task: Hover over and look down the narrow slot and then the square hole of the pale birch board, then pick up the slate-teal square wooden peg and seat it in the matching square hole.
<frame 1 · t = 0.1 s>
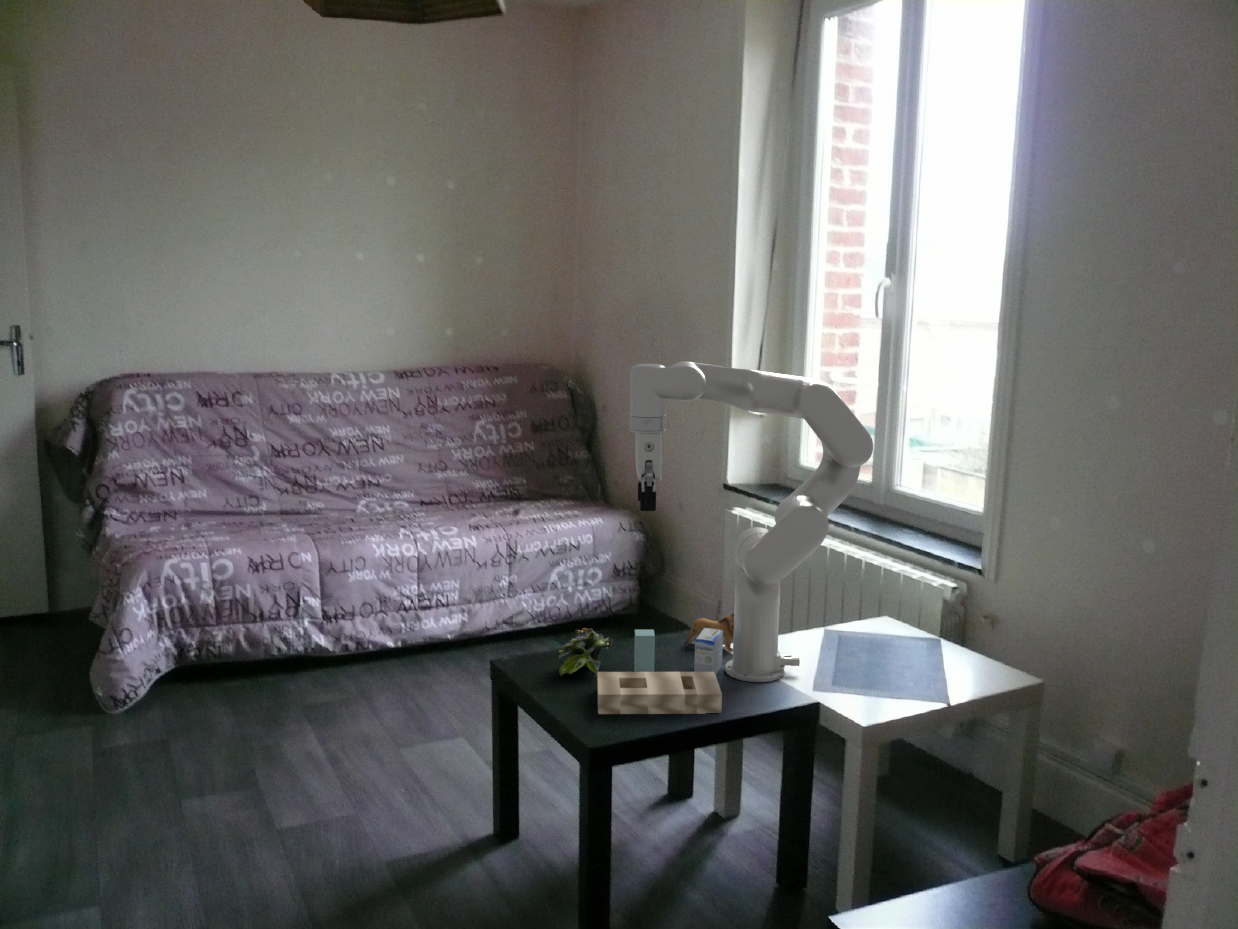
hand: (646, 505, 224), 37 cm above the table, tool pointing down, fingers open, 9 cm apart
square peg: (644, 677, 227), on the table
bore board: (657, 701, 214), on the table
medicine box: (708, 673, 231), on the table
lion figurine: (716, 648, 247), on the table
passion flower: (587, 673, 230), on the table
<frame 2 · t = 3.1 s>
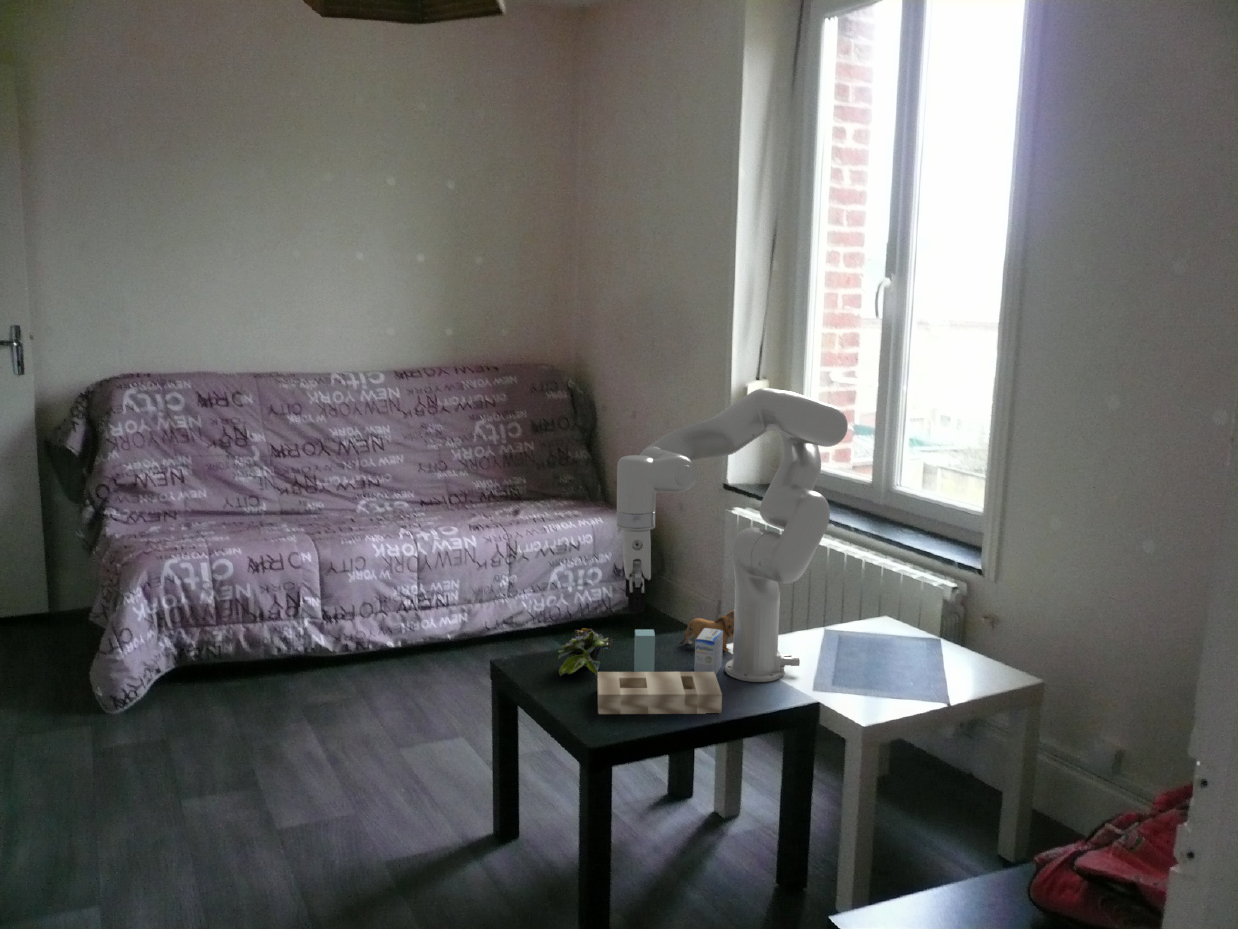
hand: (635, 604, 211), 20 cm above the table, tool pointing down, fingers open, 9 cm apart
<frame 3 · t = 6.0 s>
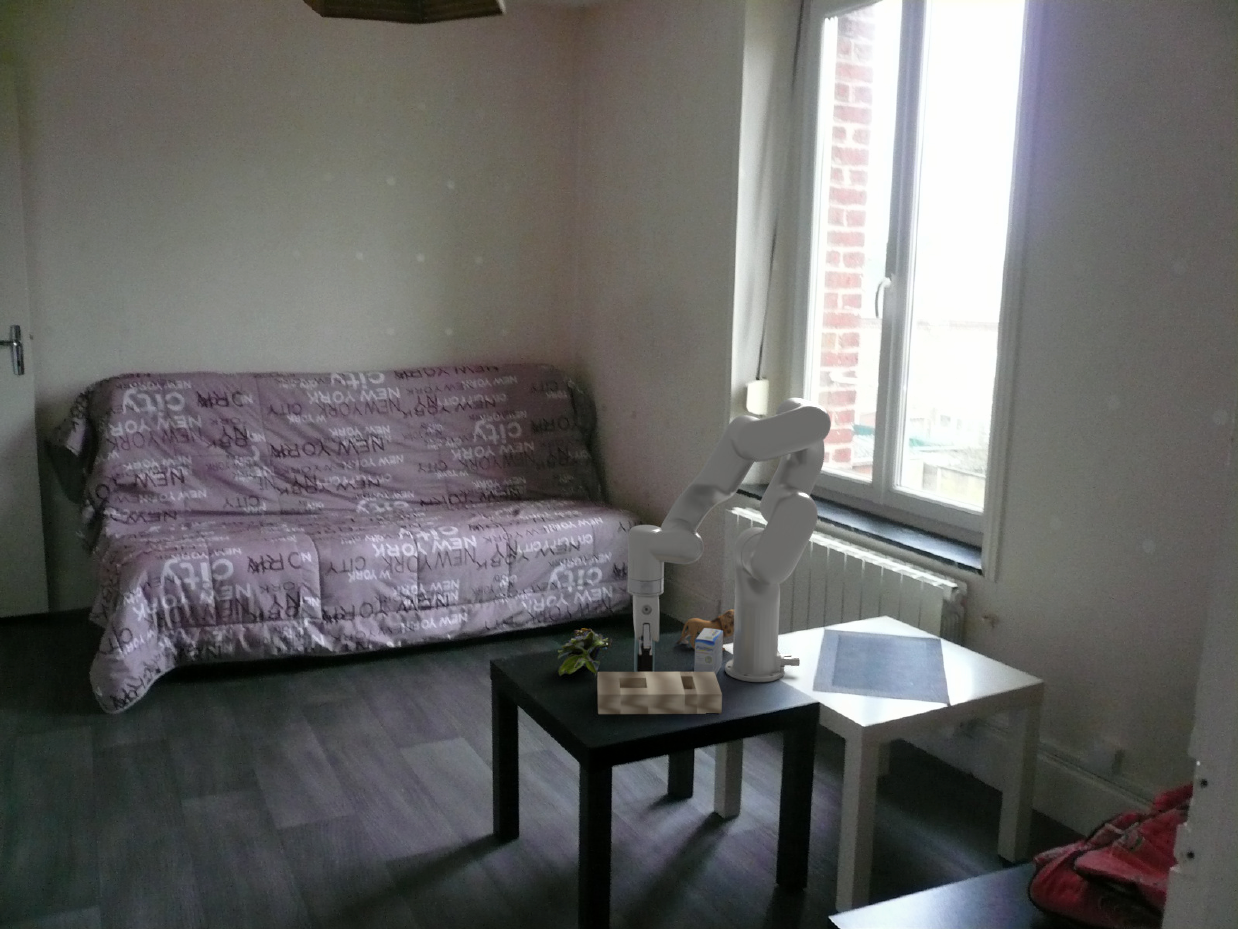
hand: (644, 667, 227), 2 cm above the table, tool pointing down, fingers closed on square peg, 4 cm apart
square peg: (644, 677, 227), on the table, touching gripper
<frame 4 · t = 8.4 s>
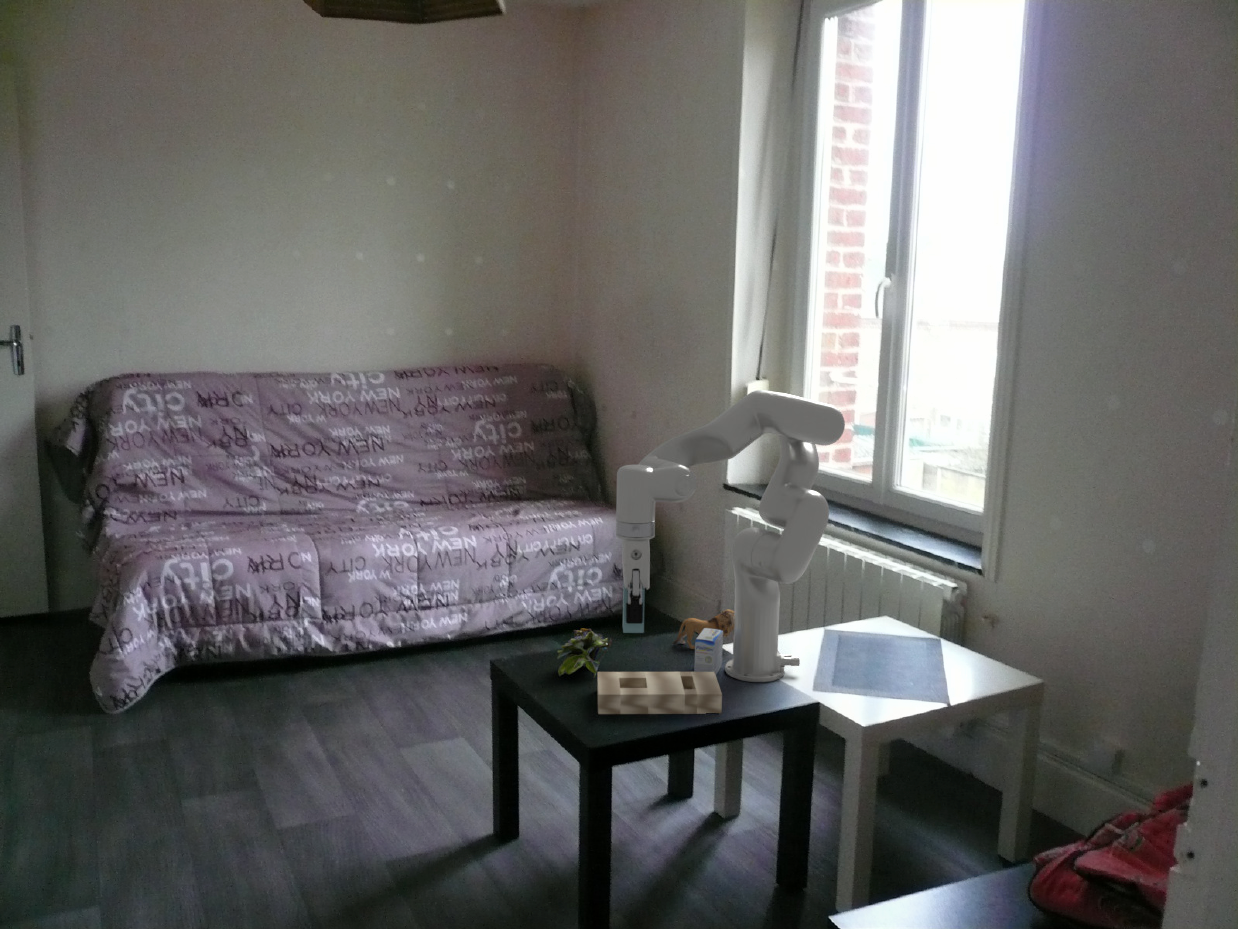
hand: (633, 618, 211), 17 cm above the table, tool pointing down, fingers closed on square peg, 4 cm apart
square peg: (633, 629, 212), point 15 cm above the table, touching gripper
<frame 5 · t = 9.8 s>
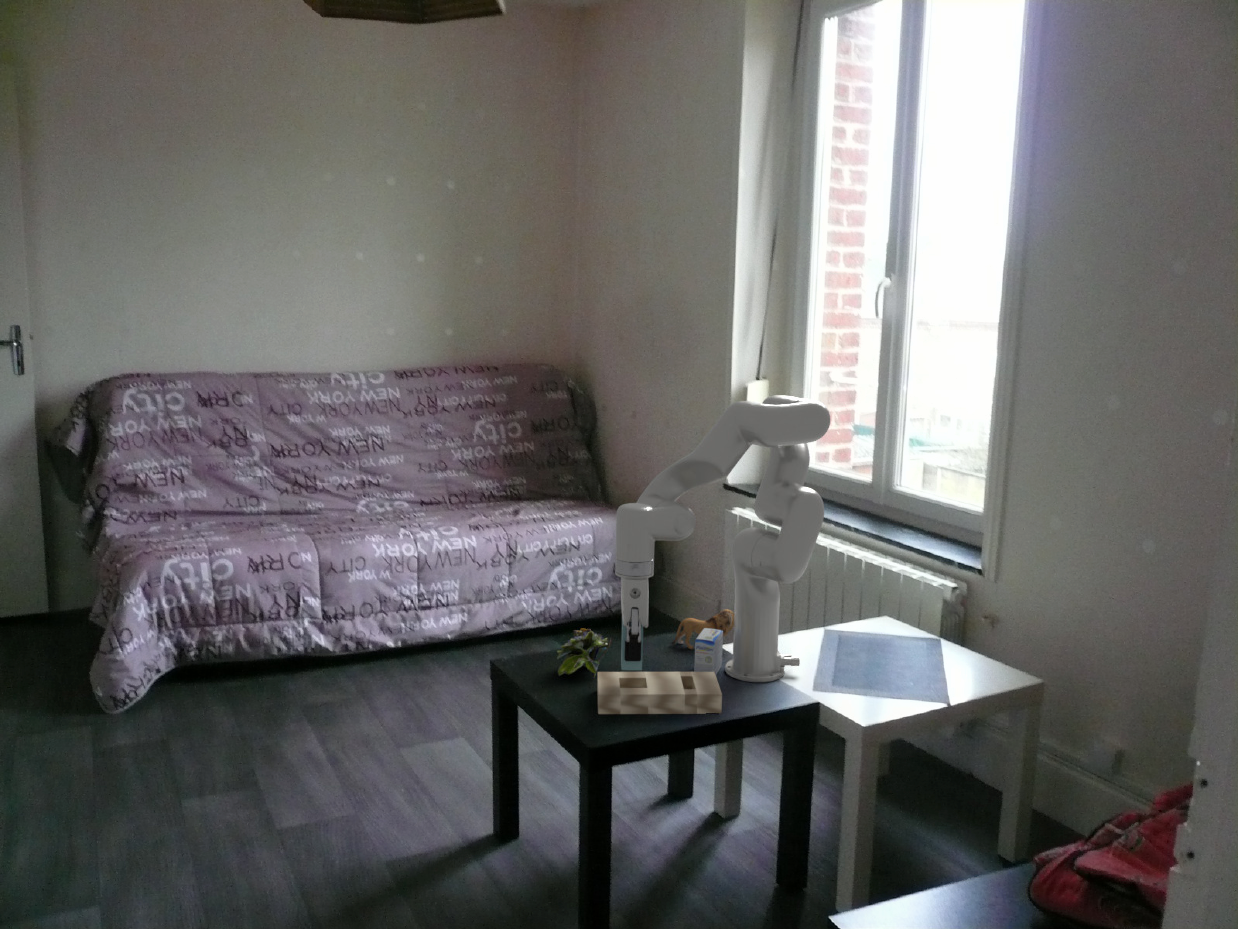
hand: (632, 655, 212), 10 cm above the table, tool pointing down, fingers closed on square peg, 4 cm apart
square peg: (631, 666, 213), point 7 cm above the table, touching gripper
when the fingers open (5 cm above the table, at t = 11.0 s): square peg drops 2 cm, resting in bore board.
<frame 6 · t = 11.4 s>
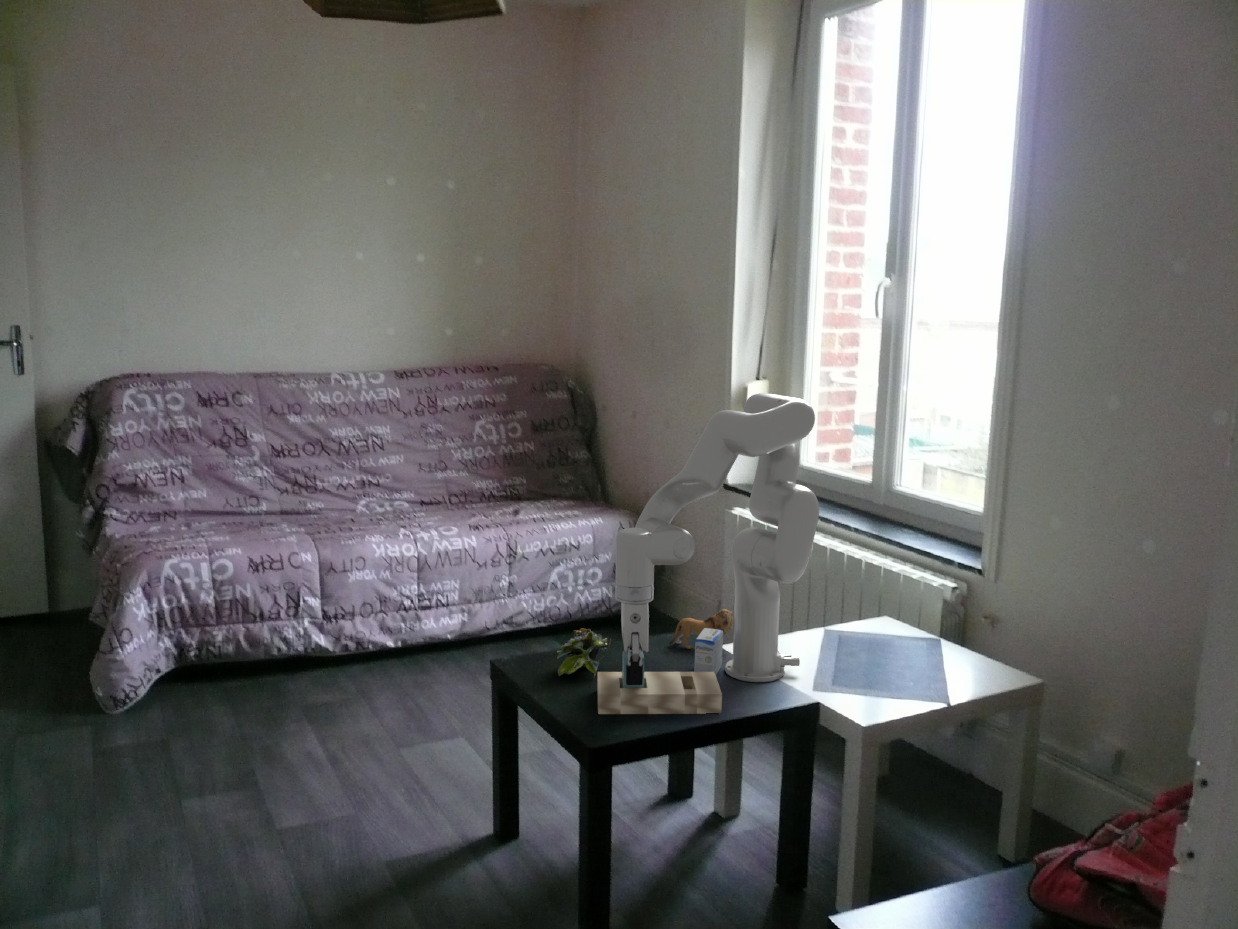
hand: (633, 676, 213), 5 cm above the table, tool pointing down, fingers open, 7 cm apart
square peg: (632, 702, 214), resting in bore board
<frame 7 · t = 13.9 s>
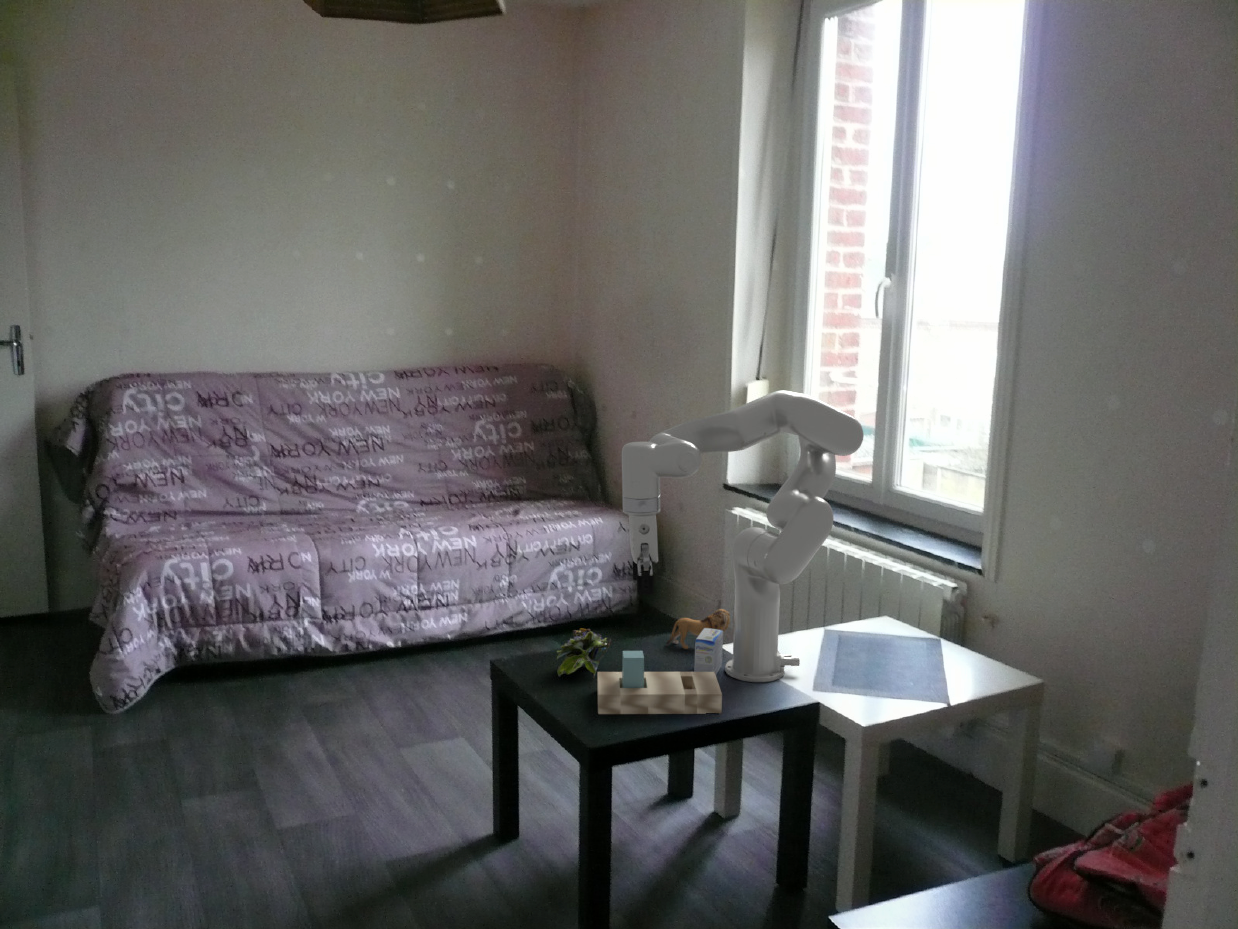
hand: (643, 586, 216), 22 cm above the table, tool pointing down, fingers open, 9 cm apart
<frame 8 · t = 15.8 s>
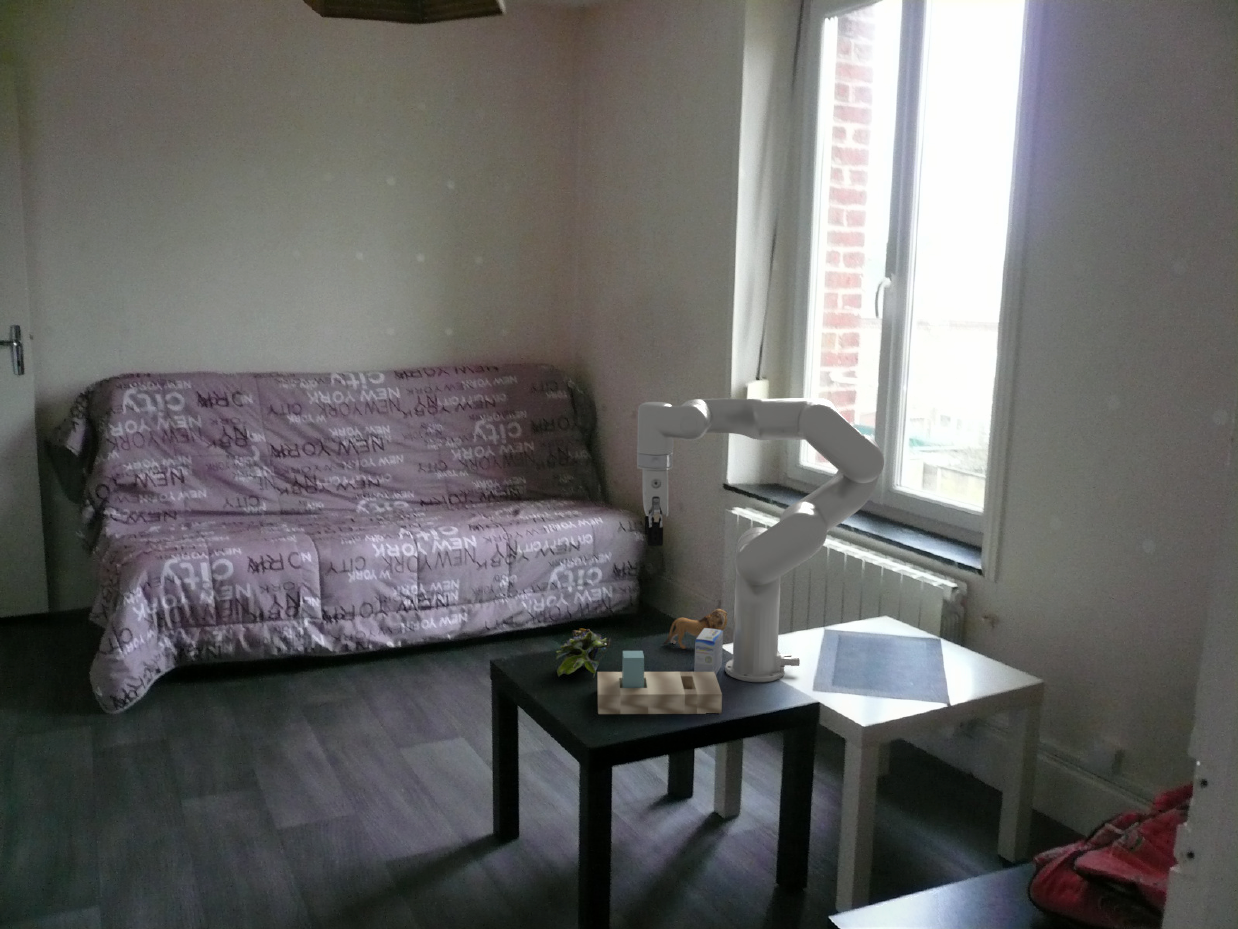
hand: (653, 539, 229), 28 cm above the table, tool pointing down, fingers open, 9 cm apart
at the end: square peg 0.1 cm from the target spot on the bore board, point 0.0 cm above the bore board's base; square peg tilted 0°; the gripper is holding nothing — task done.
